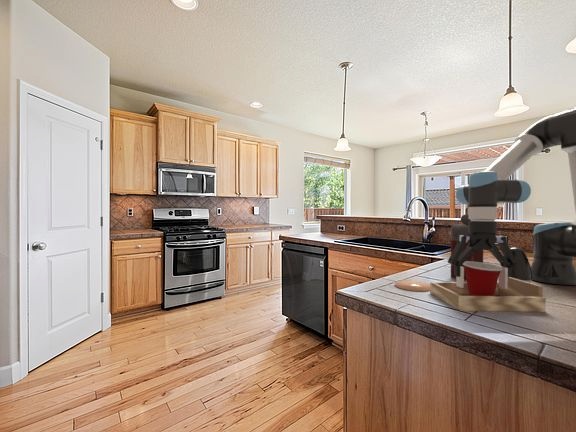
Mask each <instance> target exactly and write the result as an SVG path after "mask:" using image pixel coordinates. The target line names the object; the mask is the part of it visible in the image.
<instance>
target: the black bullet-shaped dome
mask: <svg viewBox="0 0 576 432" xmlns="http://www.w3.org/2000/svg"><path fill="white" fill-rule="evenodd" d="M509 248H510V250H511V252H512V254H513V256H514V258H515V260H516V262H517V265H516V266H513V267H512V268H510V276H509V277H512V278H515V279H519V280H522V281H526V282H529V283H532V281H533V280H532V271H531V264H530V261H529V258H528V256H527V255H526V253H525V251H524V250H523V249H521V248H519V247H516V246H515V247H513V246H512V247H509ZM499 264H500V263H499ZM499 266H502V265H501V264H500V265H499ZM502 267H503V266H502Z"/></svg>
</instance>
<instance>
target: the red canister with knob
mask: <svg viewBox="0 0 576 432" xmlns="http://www.w3.org/2000/svg"><path fill="white" fill-rule="evenodd" d="M469 221H471V219H469V213H468V214H463V215H461V217H460V222H461V223H462V224H453V225H451V228H450V255H451V254H452V252H453V250H454V248H455V246H456V244H457V242H458V236H459V235H463V236H467V237H468V236H469V232H468V222H469ZM468 244H469V241H468V242H466V244H465V246H464V248H463V250H462V252H463V251H464V250H465V249H466V247H467V245H468ZM462 252H461V254H462ZM461 254H460V255H461ZM466 261H470V262H481V263H484V250H476V251H474V252H473V253H472V254H471V255H470V256H469V258H468V259H467V260H466ZM466 261H465V262H466ZM461 267H464V265H463V264H462V266H461ZM450 278H453V279H456V276H455V275H454V265H452V264H450ZM464 281H467V280H466V274H465V269H464Z"/></svg>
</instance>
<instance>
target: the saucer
mask: <svg viewBox="0 0 576 432" xmlns="http://www.w3.org/2000/svg"><path fill="white" fill-rule="evenodd" d="M394 287H396V288H399V289H401V290H406V291H409V292H410V291H411V292H430V282H429V283H428V282H425V281H418V280H405V279H403V280H402V279H401V280H397V281H395V286H394Z"/></svg>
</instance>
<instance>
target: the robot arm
mask: <svg viewBox="0 0 576 432" xmlns="http://www.w3.org/2000/svg"><path fill="white" fill-rule="evenodd" d="M558 146H560V148H561V151H564V152H565V153H567V157H568V166H569V173H570V179H571V188H572V195H573V203H574V210H575V213H576V107H573V108H569V109H567V110H564V111H561V112H557V113H555V114H551V115H548V116H546V117H543V118H542V119H540V120H538V121H537V122H535V123H533V124H532V125H531V126H529V127H528V128H526V129H525V130H524V131H523V132H521V134H520V135H518V137H516V138H515V140H514V141H513V145H512V146H511V147H509V148H508V149H507V150H506V151H505V152H504V153H502V155H500V156H499V157H498V158H497V159H496V160H495V161H494V162H492V164H491V165H489V166H488V167H487V168H486V169H485V170H484V171H483V170H482V171H477V172H473V173H472V172H471V174H469V177H468V178H469V179H468V183H467V184H464V185H461V186H459V187H458V188H457V189H456V193H455V196H456V200H457V201H458V202H459V203H460V204H462V205H468V214H469V219H471V221H469V222H468V232H469V236H468V237H467V236H463V235H459V236H458V242H457V244H456V246H455V248H454V250H453V252H452V254H451V253H450V255H449V258H448V259H447V264H450V265H451V264H452V265H454V275H455V276H456V278H455V280H456V281H455V282H456V286H458V287H460V288H464V282H465V280H464V267H461V266H462V264H463V263H464V262H465V261H466V260H467V259H468V258H469V256H470V255H471V254H472V253H473V252H474V251H476V250H483V251H489V252H490V253H491V254H492V255H493V256H494V258H495V259H496V260H497V262H498V263H499V264H501V265H502V266H503V267H502V266H500V265H499V266H500V267H502V268H503V270H502V271H501V272H500V274H499V277H498V278H499V287H502V288H505V289H507V287H508V277H509V276H510V268H512V267H513V266H516V265H517V262H516V260H515V258H514V256H513V254H512V252H511V250H510V248H511V247H510V246H509V244H508V239H507V236H505V235H497V236H496V233H497V232H498V222H497V221H495V220H498V204H518V203H520V204H521V203H523V202H525V201H527V200H528V199H529V198H530V196H531V193H532V189H531V185H530V184H529V183H528V182H526V181H525V180H518V179H509V178H510V177H511V176H512V175H513V174H515V173H516V171H518V170H519V169H520V168H521V167H522V166H523V165H524V164H525V163H526V162H528V160H530V159H531V157H533V156H537V155H539V154H540V153H541V152H543V151H544V150H546V149H549V148H552V147H558ZM532 236H533V237H532V239H533V241H532V242H533V243H532V244H533V246H532V247H533V259H532V262H531V264H530V267H531V271H532V280H531V281H536V282H541V283H546V284H547V283H548V284H554V285H563V286H564V285H565V286H568V285H569V286H575V285H576V267H575V264H574V258H576V218H575V219H574V220H573V221H572V222H569V221H567V222H566V221H565V222H550V223H549V222H547V223H540V224H539V223H538V224H537V225H535V226H534V227H533V234H532ZM468 241H469V244H468V245H467V247H466V249H465V250H464V251H463V252H462V250H463V248H464V246H465V244H466V242H468ZM496 243H497V245H498V246H497V245H496ZM499 249H500V250H499ZM461 252H462V254H461ZM460 254H461V255H460Z"/></svg>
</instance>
